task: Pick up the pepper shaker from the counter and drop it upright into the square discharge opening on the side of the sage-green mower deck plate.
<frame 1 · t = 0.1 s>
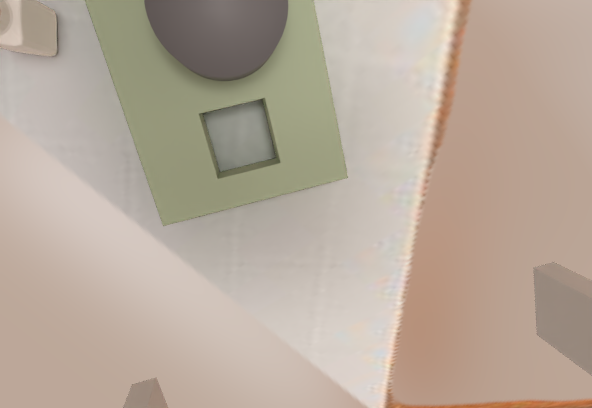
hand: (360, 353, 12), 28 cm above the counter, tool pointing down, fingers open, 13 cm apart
pepper shaker: (36, 31, 33), on the counter
mower deck: (227, 85, 36), on the counter
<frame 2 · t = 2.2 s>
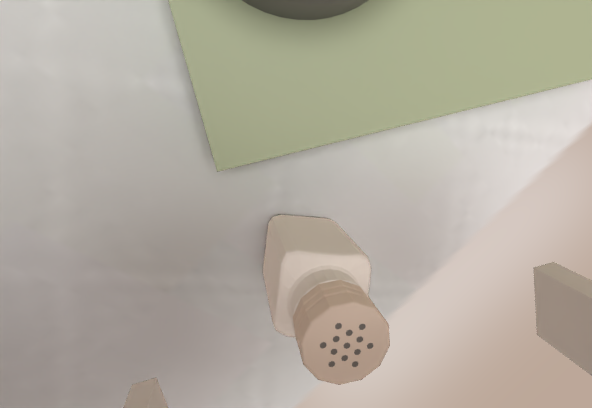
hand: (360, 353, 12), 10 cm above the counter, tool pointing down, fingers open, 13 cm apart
pepper shaker: (297, 245, 22), on the counter
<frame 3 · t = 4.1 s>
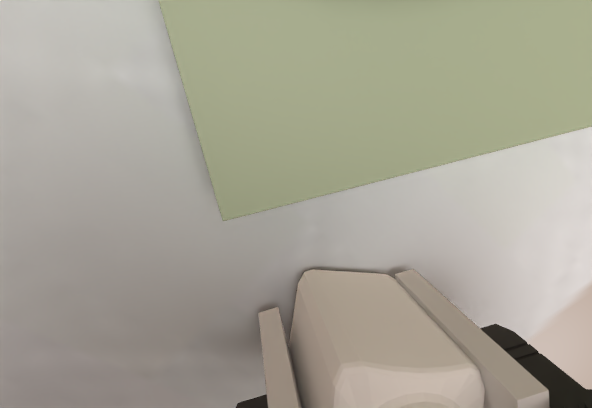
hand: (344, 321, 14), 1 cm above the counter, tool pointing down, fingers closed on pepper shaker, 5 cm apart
pepper shaker: (338, 308, 15), on the counter, touching gripper
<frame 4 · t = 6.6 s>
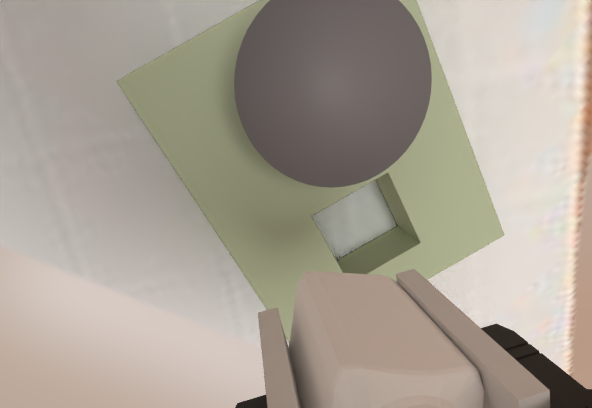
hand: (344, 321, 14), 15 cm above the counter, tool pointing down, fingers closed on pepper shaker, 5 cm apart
pepper shaker: (337, 310, 15), point 14 cm above the counter, touching gripper
mower deck: (323, 160, 28), on the counter
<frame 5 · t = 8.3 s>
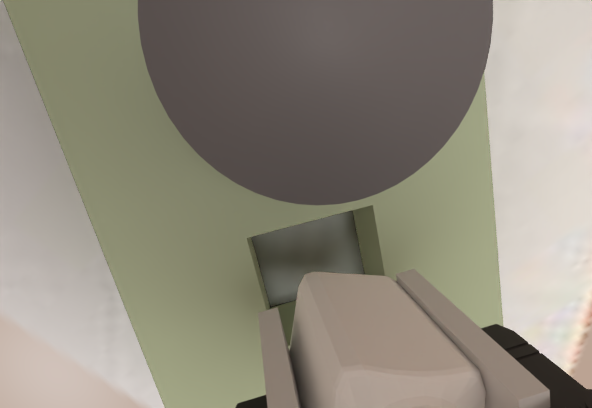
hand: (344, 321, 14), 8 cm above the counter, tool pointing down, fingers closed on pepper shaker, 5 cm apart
pepper shaker: (338, 310, 15), point 7 cm above the counter, touching gripper
mower deck: (289, 166, 20), on the counter
when the fingers open (6 cm above the counter, at t = 9.2 s): pepper shaker drops 5 cm, resting in mower deck.
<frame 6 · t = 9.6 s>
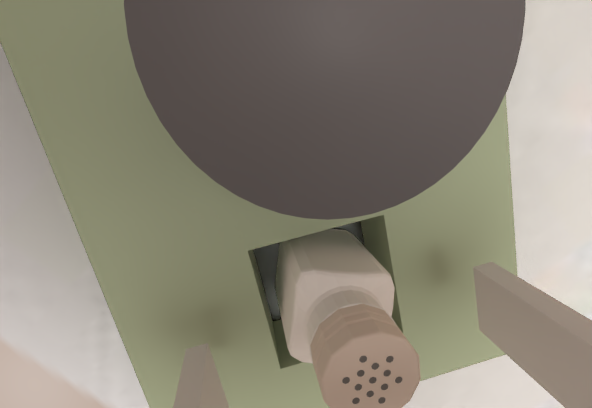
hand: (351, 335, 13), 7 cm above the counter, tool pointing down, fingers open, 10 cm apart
pepper shaker: (311, 258, 21), resting in mower deck
mower deck: (292, 172, 19), on the counter
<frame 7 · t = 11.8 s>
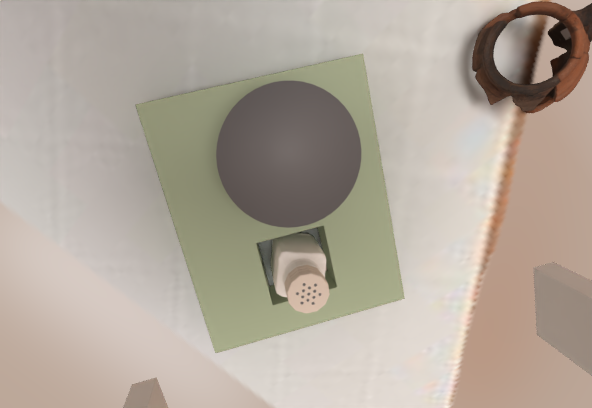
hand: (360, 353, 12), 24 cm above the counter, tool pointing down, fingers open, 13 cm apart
pepper shaker: (291, 249, 37), resting in mower deck
mower deck: (279, 202, 35), on the counter
pottery mug: (516, 60, 36), on the counter
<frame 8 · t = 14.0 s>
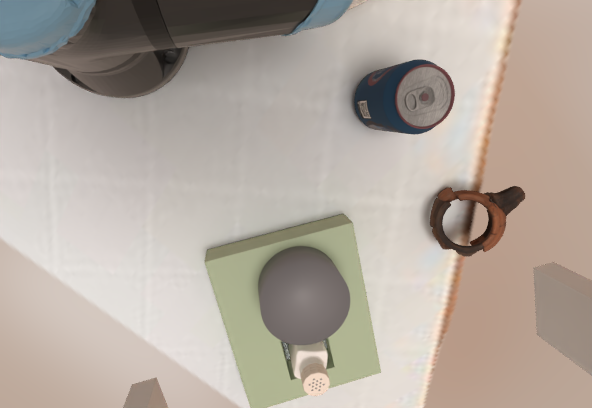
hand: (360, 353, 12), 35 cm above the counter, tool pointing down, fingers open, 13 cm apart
pepper shaker: (302, 335, 52), resting in mower deck
mower deck: (295, 305, 50), on the counter
pottery mug: (462, 210, 51), on the counter
soda can: (377, 100, 46), on the counter
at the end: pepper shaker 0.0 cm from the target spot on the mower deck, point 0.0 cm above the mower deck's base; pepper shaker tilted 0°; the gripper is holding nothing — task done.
